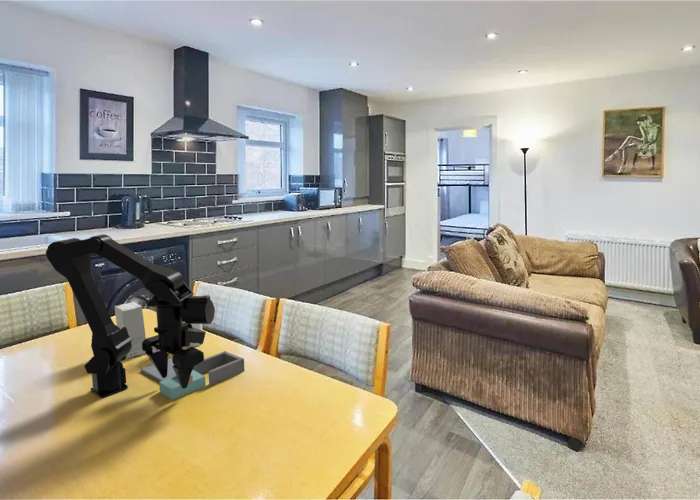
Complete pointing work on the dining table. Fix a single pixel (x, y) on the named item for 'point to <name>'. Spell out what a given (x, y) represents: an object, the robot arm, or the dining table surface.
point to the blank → (174, 388)
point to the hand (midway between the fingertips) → (174, 382)
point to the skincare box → (132, 325)
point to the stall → (220, 366)
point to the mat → (155, 374)
